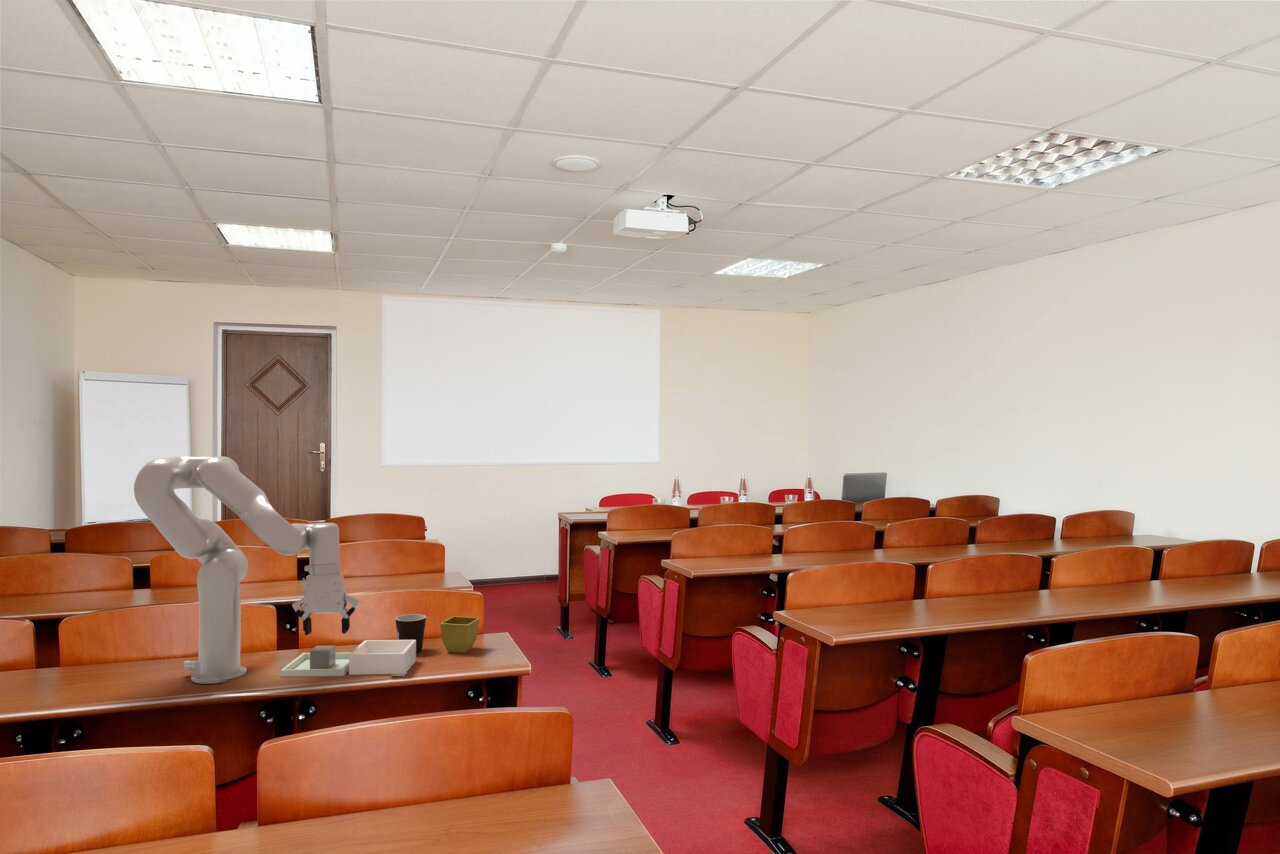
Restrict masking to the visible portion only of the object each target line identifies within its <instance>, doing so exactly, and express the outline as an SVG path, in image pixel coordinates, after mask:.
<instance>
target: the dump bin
mask: <svg viewBox="0 0 1280 854" xmlns="http://www.w3.org/2000/svg"><path fill="white" fill-rule="evenodd" d="M416 662H417V654H416V640H398V639H365V640H363V641H362V642H361V643H360V644H359V645H358V646H356V648H355V649H353V650H352V651H351V653H350V654H349V671H348V675H349V676H351V675H352V676H355V675H358V676H359V675H363V676H364V675H365V676H366V675H390V676H404V675H405V674H406V675H407V673H408V672H409V671H410V670H409V669H411V668H412V667H413V666H414V664H415V663H416ZM412 665H413V666H412ZM411 666H412V667H411ZM408 670H409V671H408ZM407 671H408V672H407ZM406 675H405V676H406ZM405 676H404V677H405Z"/></svg>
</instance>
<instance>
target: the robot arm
mask: <svg viewBox="0 0 1280 854" xmlns="http://www.w3.org/2000/svg"><path fill="white" fill-rule="evenodd" d="M133 484H134V485H133V494H134V498H135V500H136V503H137V505H138V507H139V508H140V510H141V511H142V512H143V514H144V515H145V516H146V517H147V518H148V519H149V521H150V522H151V523H152V524H153V525H154V527H155V528H156V529H157V530H158V532H159V533H160V534H161V535H162V536H163V537H164V539H165V540H166V541H167V542H168V543H169V545H170V546H171V547H172V548H173V549H174V550H175V552H176V553H177V554H178V555H179V556H181V557H182V558H185V559H188V560H195V559H197V561H199V562H200V564H201V566H200V567H199V569H198V572H197V579H196V586H197V592H198V659H197V660H195V661H194V660H185V661H183V665H182V666H183V670H184V671H193V673H192V674H191V679H190V680H191V682H193V683H196V684H201V685H203V684H204V685H209V684H210V685H213V684H221V683H226V682H227V681H229V680H232V679H236V678H238V677H241V676H243V675H245V674H246V673H247V670H248V669H247V668H246V667H245V666H242V665H241V632H242V631H241V630H242V629H241V626H242V625H241V623H242V619H241V616H242V615H241V613H242V606H241V600H242V599H241V591H240V590H241V589H240V588H241V587H240V582H241V581H243V580H244V578H245V577H246V576H247V573H248V572H249V561H248V558H247V557H246V556H245V554H244V553H243V551H242V550H241V549H240V548H239V547H238V546H237V544H236V543H235V542H234V541H233V540H232V538H231V537H230V536H229V534H227V533H226V531H224V529H223V528H222V527H221V526H220V525H219V524H217V523H216V522H214V521H213V520H210V519H206V518H200V519H199V517H197V515H196V514H195V513H194V512H193V511H192V510H191V509H190V507H189V506H188V505H187V504H186V503H185V502H184V501H183V500H182V499H180V497H179V496H178V495H177V494H176V492H175V490H177V489H205V490H206V491H208V492H209V493H210V494H211V495H213V496H214V497H215V498H216V499H217V500H219V501H220V502H221V503H222V504H223V505H225V507H227V508H228V509H230V510H231V511H232V512H233V513H235V515H236V516H238V517H239V519H241V521H242V522H243V523H244V524H245V525H246V526H247V527H248V528H249V530H251V531H252V532H253V534H254V535H256V536H257V537H258V538H259V539H260V540H261V541H263V542H264V544H266V545H267V546H269V547H270V548H271V549H273V550H274V551H275V552H276V553H279V554H280V555H282V556H285V557H286V556H287V557H290V556H292V557H293V556H294V555H297V554H299V553H300V552H302V551H304V550H309V551H308V553H309V564H308V565H304V566H303V567H304V571H305V572H308V573H309V574H308V575H307V576H306V579H305V584H304V591H303V592H304V594H303V597H302V598H300V599H298V600H296V601H294V602H293V603H292V605H291V606H292V608H293V610H294V611H295V614H296V615H297V616H298V617H299V618H300V620H301V621H302V630H303V632H304V635H305V636H308V635H310V634H312V630H313V629H312V628H313V627H312V626H313V625H312V624H313V623H312V617H311V615H314V614H315V615H317V614H319V615H320V614H336V613H339V614H340V615H341V616H342V618H341V634H344V635H345V634H346V633H347V632H348V631H349V630H350V628H351V627H350V626H351V625H350V621H351V620H350V617H351V616H352V614H353V613H355V612H356V610H357V608H358V606H359V603H360V600H359V599H358V598H356V597H353V596H351V595H349V594H347V590H346V581H345V577H344V574H343V573H344V572H341V561H340V560H341V555H340V553H341V551H340V528H339V525H338V524H337V523H335V522H320V523H314V524H312V523H297V522H295V523H290V522H289V521H288V520H287V519H285V518H284V517H283V516H282V515H281V514H280V513H279V512H277V511H276V509H275V508H274V507H273V506H272V505H271V503H270V501H269V498H268V497H267V494H266V493H265V492H264V490H262V489H261V488H260V487H258V485H256V484H255V483H254V482H252V481H251V479H249V478H247V476H245V475H244V474H243V473H242V472H241V471H240V467H239V465H238V464H237V462H236V461H235V460H234V459H232V458H230V457H228V456H222V455H221V456H220V455H219V456H170V457H159V458H155V459H152V460H150V461H148V462H147V463H146V464H145V465H143V466H142V468H141V469H140V470H139V472H138V473H137V475H136V478H135V480H134V483H133ZM347 603H350V604H351V607H350V609H348V608H347V605H348V604H347ZM301 605H303V608H301Z"/></svg>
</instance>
